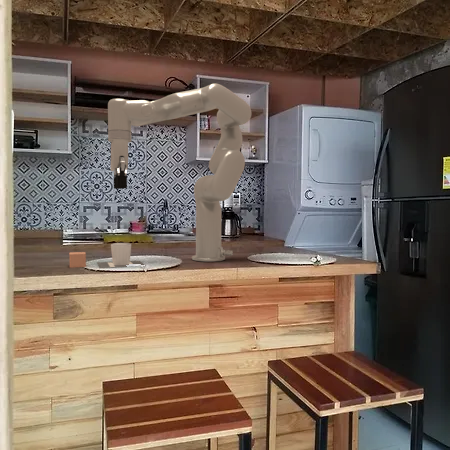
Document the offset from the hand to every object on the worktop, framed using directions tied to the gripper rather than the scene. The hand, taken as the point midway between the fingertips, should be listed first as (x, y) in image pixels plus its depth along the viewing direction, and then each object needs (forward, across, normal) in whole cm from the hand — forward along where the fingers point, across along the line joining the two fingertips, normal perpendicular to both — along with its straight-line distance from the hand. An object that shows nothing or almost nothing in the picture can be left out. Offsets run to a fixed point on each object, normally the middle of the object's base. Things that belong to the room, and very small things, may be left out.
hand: (120, 188), depth 152 cm
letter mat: (+26, 0, 0) cm, 26 cm away
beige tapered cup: (+26, 0, 0) cm, 26 cm away
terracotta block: (+26, 0, -14) cm, 30 cm away
